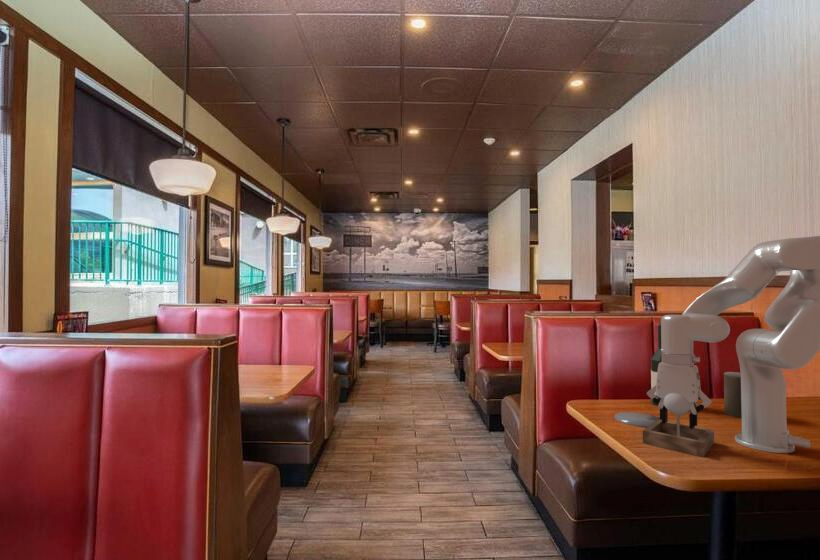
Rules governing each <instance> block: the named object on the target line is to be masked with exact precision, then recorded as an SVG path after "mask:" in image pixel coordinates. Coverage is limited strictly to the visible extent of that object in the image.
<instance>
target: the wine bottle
mask: <svg viewBox="0 0 820 560" xmlns="http://www.w3.org/2000/svg"><path fill="white" fill-rule="evenodd" d="M661 352H662V351H661V322H659V323H658V325H657V349H656V350H655V352H654V353H653V355H652V357H651V358H650V378H651V379H650V385H651V386H650V387H651V388H650V389H652V388H653V387H654V386H655V385H656V380H657V371H658V366H659V363H660V362H662V355H661ZM654 394H655V395H656V392H655V393H654ZM656 397H657V395H656ZM658 398H659V397H658ZM659 399H660V400H661V398H659ZM651 404H652V405H653V406H656V407H658V406H657V405H656V404H655V403H654V401H653V400H652V399H651Z"/></svg>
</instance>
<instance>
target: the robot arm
mask: <svg viewBox="0 0 820 560" xmlns="http://www.w3.org/2000/svg"><path fill="white" fill-rule="evenodd" d="M781 272H789V280H788V281H787V284H785V286H784V287H783V289H782V290H781V291H780V293H779V294H778V295H777V297H776V298H775V299H774V300H773V302H772V303H770V306H768V308H767V309H766V310H765V313H764V321H765V323H766V325H767V326H768V327H769V328H771V329H768V328H751V329H750V328H749V329H747V330H745V331H743V332H741V333H740V335H739V336H738V337H737V339H736V342H735V350H736V355H737V358H738V359H737V360H738V363H739V370H740V372H739V373H741V412H742V418H741V433H737V434H735V436H734V441H735V442H736V443H738V445H742V446H744V447H747V448H750V449H753V450H758V451H761V452H767V453H773V454H774V453H775V454H789V453H790V454H791V453H793V452H795V450H796V447H795V446H800V447H802V448H807V449H810V448H811V440H810V439H805V438H804V437H800V436H794V435H792V434H790V430H789V429H787V428H788V426H787V425H788V424H787V383H786V382H787V381H786V377H785V374H784V372H783V370H789V371H790V370H791V371H793V370H798V369H801V368H803V367H805V366H807V365H808V364H809V363H810V362H811V361H812V360H813V359H814V358H815V356H816V355H817V354H818V353H819V351H820V235H814V236H803V237H802V236H801V237H789V238H783V239H782V238H781V239H777V240H776V239H774V240H767V241H763V242H760V243H758V244H756V245H754V246H753V247H752V248H751V249H750V250H749V251H748V252H747V254H746V255H745V256H744V257H743V258H742V259H741V260H740V261H739V262H738V263H737V265H736V266H735V267H734V268H733V269H732V270H731V271H730V272H729V273H728V275H727V276H726V277H725V278H724V279H723V280H722V281H720V282H719V283H717V284H715V285H714V286H712V287H711V288H709V289H708V290H707V291H705V292H704V293H702V294H701V295H699V296H698V297H696V298H695V300H693V301H692V302H691V304H689V306H687V308H686V309H685V310H684V311H683V312H682V313H681V314H665V315H663V316H661V318H660V323H661V351H662V352H661V355H662V362H660V363H659V366H658V371H657V380H656V385H655V386H654V387H653V388H652V389H651V388H650V389H649V390H648V391H647V392H646V395H647V396H648V397H649V398H650V399H651V401H652V400H653V401H654V403H655V404H656V405H657V406H656V407H657V408H658V409H659V418H660V419H662V423H663V424H665V423H666V422H667V421H668V420H669V418H668V411H669V410H667V409H666V407H665V406H664V403H663V399H664V398H665V396H666V395H667V394H669V393H678V394H680V395H682V396H684V397H685V398H686V399H687V401H688V402H689V403H691V407H690V410H691V411H690V412H689V413H688V415H689V416H688V419H689V420H688V421H689V422H688V423H689V424H688V425H689V428H690V429H693V428H694V427H698V414H699V413H700V412H701V411H703V410H704V409H705V408H708V406H710V405H711V404H713V403H712V400H711V399H710V398H709V397H708V396H707V395H706V394H705V392H704V391H702V389H701V378H700V372H699V367H698V366H697V365H695V364H696V363H700V362H701V358H700V356H696V355H695V354H694V342H695V341H697V342H704V343H719V342H722V341H724V340H725V339H727V337H729V335H730V332H731V327H730V324H729V323H728V321H727V320H726V319H724V318H722V317H721V316H719V315H720V314H721V313H722V312H725V311H726V310H728V309H731V308H733V307H737V306H741V305H742V304H747V303H748V302H750V301H752V300H755V299H756V298H757V297H758V296H759V295H760V293H762V292H763V290H764V289H765V288H766V287H767V285H769V284H770V283H771V282H772V280H773V279H774V278H775V277H776V276H777V275H778V274H779V273H781ZM655 392H656V395H657V397H656V395H655V394H654V393H655ZM658 397H659V398H661V400H660V399H659V398H658ZM700 400H702V402H701V403H700V404H699V405H697V403H698V401H700ZM668 422H669V421H668Z"/></svg>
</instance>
